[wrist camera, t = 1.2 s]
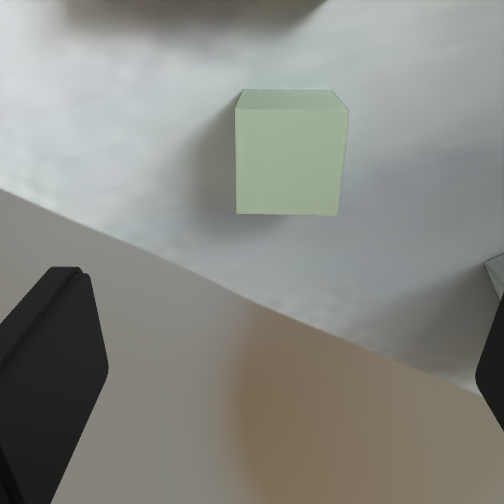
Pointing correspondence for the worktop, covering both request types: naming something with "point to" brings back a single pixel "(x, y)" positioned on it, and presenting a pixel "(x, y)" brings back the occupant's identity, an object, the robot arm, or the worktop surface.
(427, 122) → the worktop surface
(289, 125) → the sage block
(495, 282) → the skincare box
